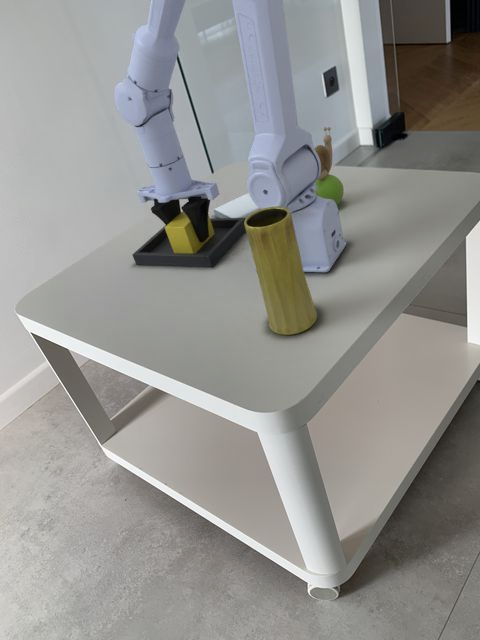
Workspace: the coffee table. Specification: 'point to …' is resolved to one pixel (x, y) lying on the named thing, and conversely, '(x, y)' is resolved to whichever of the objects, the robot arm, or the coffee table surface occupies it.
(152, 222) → the coffee table surface
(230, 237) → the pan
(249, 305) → the coffee table surface
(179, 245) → the sponge
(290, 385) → the coffee table surface
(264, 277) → the vase
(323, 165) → the snail figurine
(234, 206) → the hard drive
